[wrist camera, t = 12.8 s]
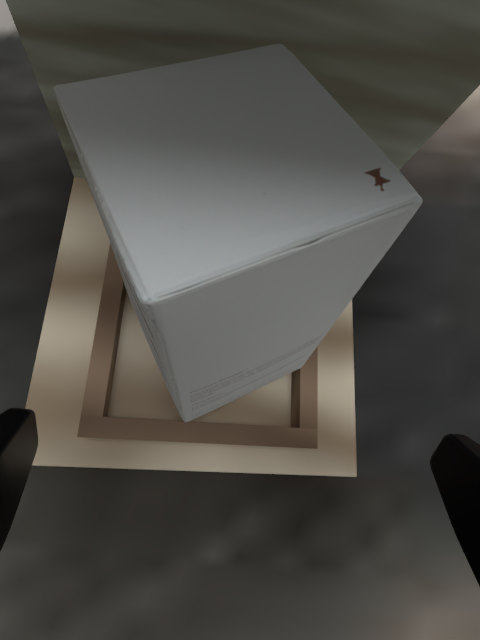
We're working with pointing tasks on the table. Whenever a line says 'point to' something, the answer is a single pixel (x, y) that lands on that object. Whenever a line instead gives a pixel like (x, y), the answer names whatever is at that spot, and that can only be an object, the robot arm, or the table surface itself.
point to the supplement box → (234, 212)
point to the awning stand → (100, 263)
